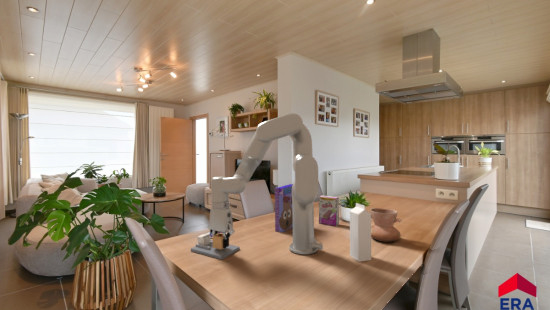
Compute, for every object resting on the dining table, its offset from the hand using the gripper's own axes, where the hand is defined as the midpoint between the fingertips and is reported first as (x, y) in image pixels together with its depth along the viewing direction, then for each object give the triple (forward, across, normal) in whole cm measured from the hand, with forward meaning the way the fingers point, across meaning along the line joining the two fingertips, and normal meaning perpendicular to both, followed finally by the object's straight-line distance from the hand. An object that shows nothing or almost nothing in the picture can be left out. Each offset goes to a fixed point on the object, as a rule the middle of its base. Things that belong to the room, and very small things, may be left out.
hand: (221, 245), depth 109 cm
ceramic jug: (+3, -60, -51) cm, 78 cm away
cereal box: (+3, -10, -44) cm, 45 cm away
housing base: (+3, +3, 0) cm, 4 cm away
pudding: (+3, +17, -16) cm, 24 cm away
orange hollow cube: (0, 0, 0) cm, 0 cm away
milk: (+3, -55, -23) cm, 59 cm away
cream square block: (+1, +10, 0) cm, 10 cm away
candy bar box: (+3, -29, -62) cm, 68 cm away
